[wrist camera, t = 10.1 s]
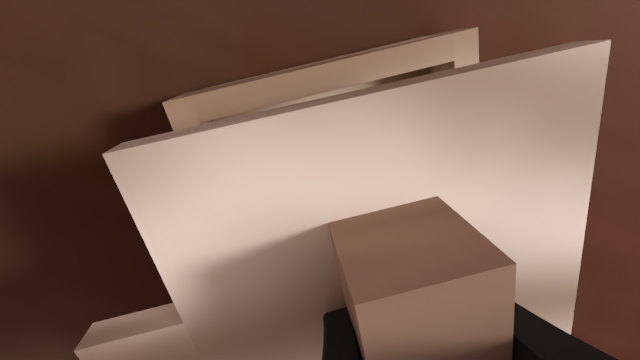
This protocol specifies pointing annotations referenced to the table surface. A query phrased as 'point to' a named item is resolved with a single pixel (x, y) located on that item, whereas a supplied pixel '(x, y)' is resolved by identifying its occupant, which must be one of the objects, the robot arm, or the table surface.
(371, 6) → the table surface
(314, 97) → the wooden tray
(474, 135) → the lid
